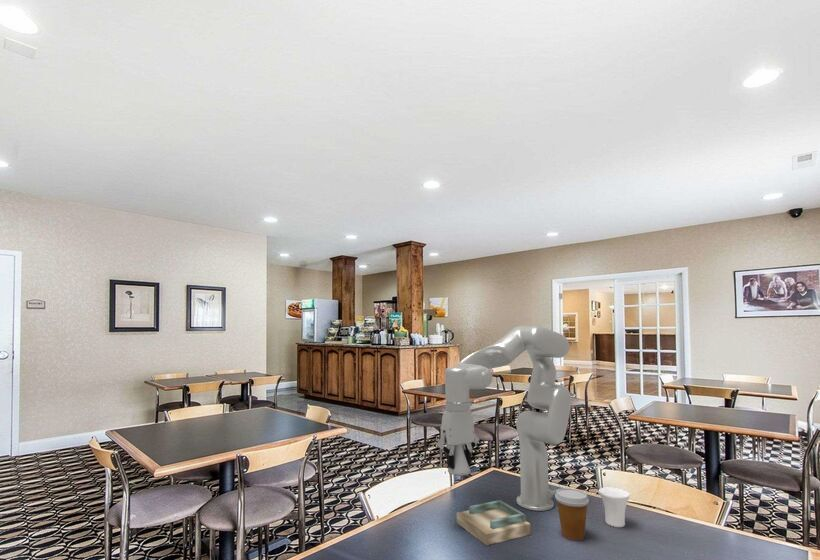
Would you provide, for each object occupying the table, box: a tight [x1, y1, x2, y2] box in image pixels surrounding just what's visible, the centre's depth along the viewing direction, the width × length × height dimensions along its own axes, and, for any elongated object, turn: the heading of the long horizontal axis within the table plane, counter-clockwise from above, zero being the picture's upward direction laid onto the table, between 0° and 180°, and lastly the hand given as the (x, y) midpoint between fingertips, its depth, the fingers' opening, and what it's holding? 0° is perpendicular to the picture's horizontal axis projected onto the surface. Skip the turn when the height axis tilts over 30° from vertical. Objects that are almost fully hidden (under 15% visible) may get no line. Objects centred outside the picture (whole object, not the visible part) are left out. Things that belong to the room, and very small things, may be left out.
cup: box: [597, 486, 631, 528], centre depth 136 cm, size 9×9×10 cm
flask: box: [447, 444, 472, 476], centre depth 134 cm, size 7×7×10 cm
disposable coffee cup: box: [554, 487, 590, 541], centre depth 128 cm, size 10×10×12 cm
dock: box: [456, 499, 531, 546], centre depth 132 cm, size 16×16×5 cm
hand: (459, 465), depth 133 cm, fingers closed on flask, 5 cm apart
